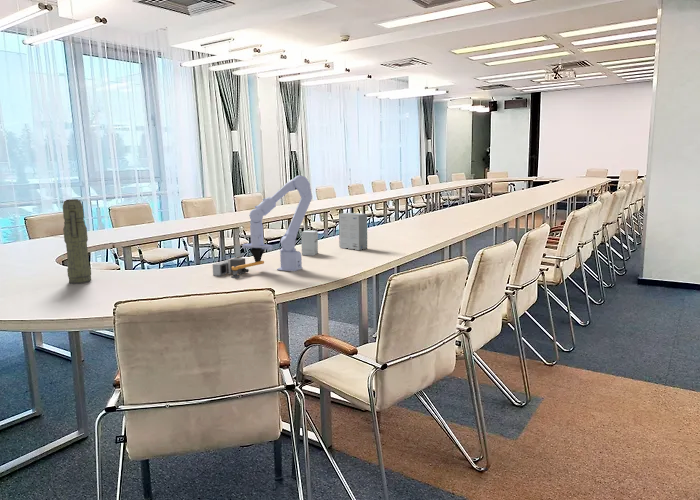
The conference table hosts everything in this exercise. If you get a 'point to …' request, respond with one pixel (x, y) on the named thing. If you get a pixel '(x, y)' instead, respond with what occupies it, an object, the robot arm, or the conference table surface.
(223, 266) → the socket
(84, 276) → the carved stone statue
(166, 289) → the conference table surface
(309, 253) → the supplement box
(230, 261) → the plug
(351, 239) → the hard drive box
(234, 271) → the lever handle base
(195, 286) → the conference table surface
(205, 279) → the conference table surface
